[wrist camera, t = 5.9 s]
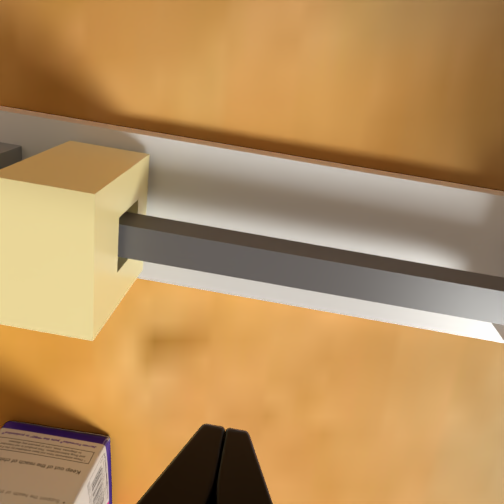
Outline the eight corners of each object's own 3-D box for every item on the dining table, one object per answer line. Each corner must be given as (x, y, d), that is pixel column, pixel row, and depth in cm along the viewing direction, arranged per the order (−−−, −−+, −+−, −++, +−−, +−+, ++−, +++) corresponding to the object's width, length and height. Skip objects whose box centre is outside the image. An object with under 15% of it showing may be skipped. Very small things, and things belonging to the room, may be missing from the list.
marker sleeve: (149, 154, 17) (94, 193, 13) (142, 269, 19) (92, 340, 15) (69, 140, 17) (-14, 175, 13) (71, 257, 19) (-1, 324, 15)
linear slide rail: (570, 202, 18) (659, 254, 13) (510, 334, 20) (569, 414, 16) (0, 105, 18) (-95, 124, 14) (10, 246, 21) (-68, 300, 16)
